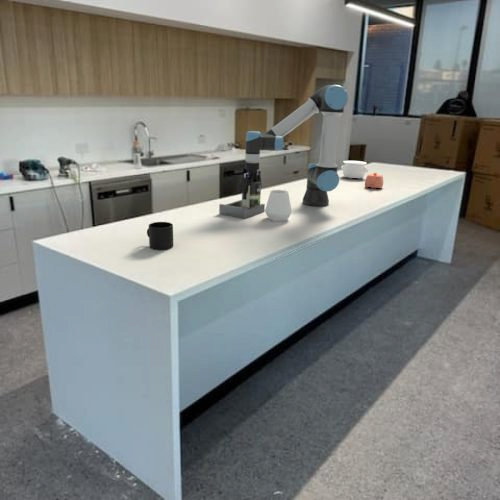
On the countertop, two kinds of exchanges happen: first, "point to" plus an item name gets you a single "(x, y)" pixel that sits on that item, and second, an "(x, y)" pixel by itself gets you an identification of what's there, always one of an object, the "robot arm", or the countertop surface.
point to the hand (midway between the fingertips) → (250, 203)
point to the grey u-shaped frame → (240, 210)
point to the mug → (160, 235)
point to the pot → (354, 169)
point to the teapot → (374, 181)
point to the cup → (278, 205)
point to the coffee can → (253, 194)
